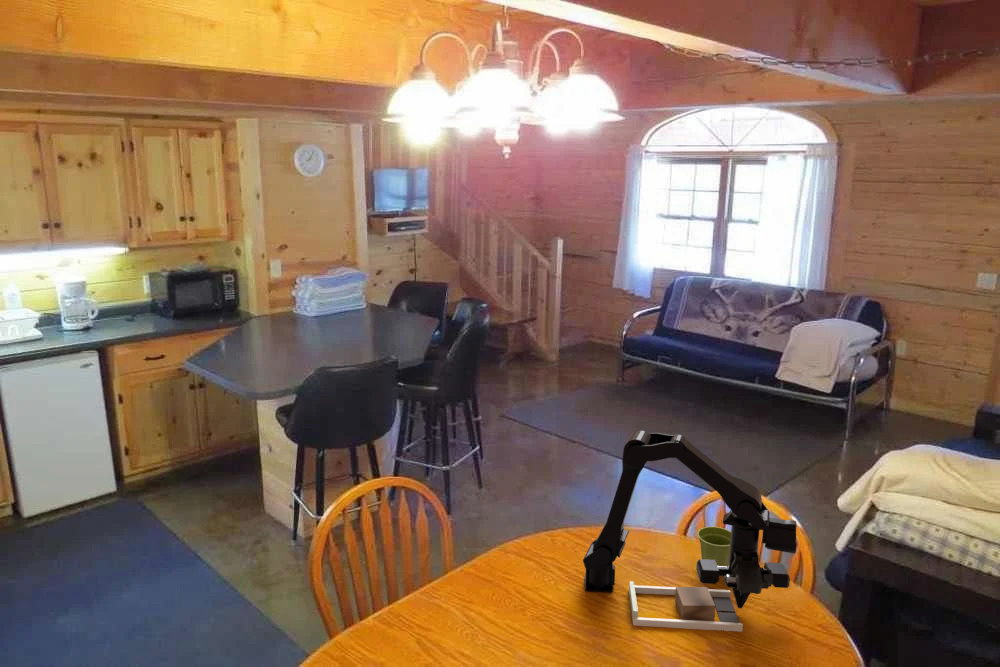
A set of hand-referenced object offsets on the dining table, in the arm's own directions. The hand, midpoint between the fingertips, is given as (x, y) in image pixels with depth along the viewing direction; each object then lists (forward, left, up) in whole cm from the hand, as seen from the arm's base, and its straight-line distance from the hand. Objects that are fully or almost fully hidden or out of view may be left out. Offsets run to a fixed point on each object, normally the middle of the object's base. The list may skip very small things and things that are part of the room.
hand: (739, 607), depth 154 cm
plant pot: (-2, +18, -2) cm, 19 cm away
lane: (-12, 0, -2) cm, 12 cm away
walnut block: (-10, 0, -2) cm, 10 cm away
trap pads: (-3, 0, -2) cm, 3 cm away
